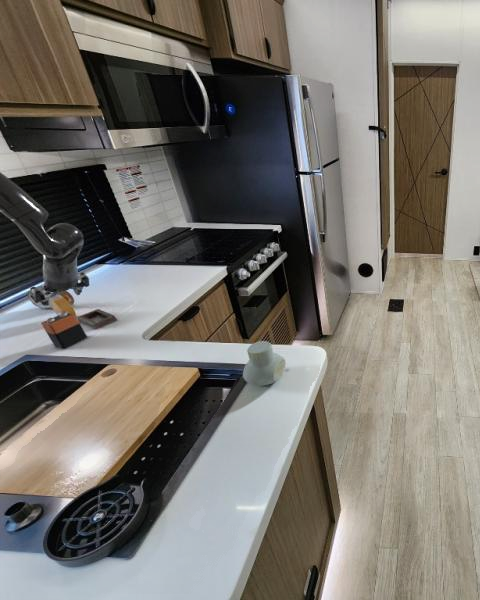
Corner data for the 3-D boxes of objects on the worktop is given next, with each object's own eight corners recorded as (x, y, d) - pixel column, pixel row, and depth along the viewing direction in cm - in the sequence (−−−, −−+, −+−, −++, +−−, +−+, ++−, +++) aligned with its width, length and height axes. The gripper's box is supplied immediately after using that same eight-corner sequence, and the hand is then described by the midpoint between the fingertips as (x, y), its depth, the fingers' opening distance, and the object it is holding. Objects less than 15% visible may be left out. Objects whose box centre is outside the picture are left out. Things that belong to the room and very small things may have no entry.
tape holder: (96, 329, 112) (93, 324, 111) (79, 321, 117) (76, 316, 116) (117, 320, 117) (115, 315, 116) (100, 313, 122) (98, 308, 121)
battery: (88, 337, 108) (73, 311, 103) (64, 349, 102) (47, 322, 97) (79, 335, 109) (64, 309, 104) (54, 347, 103) (38, 320, 98)
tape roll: (68, 323, 116) (57, 303, 112) (57, 318, 119) (46, 298, 116) (79, 319, 119) (69, 300, 115) (68, 314, 122) (58, 295, 118)
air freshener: (262, 363, 94) (254, 334, 89) (289, 365, 93) (283, 335, 89) (242, 390, 84) (232, 359, 80) (273, 392, 84) (264, 361, 79)
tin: (78, 306, 128) (68, 286, 124) (71, 309, 125) (60, 290, 121) (41, 306, 128) (29, 286, 124) (33, 310, 126) (21, 290, 122)
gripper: (80, 256, 108) (79, 281, 118) (21, 271, 97) (25, 298, 107) (95, 273, 108) (93, 298, 118) (38, 290, 97) (41, 316, 107)
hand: (61, 298), depth 112 cm, fingers open, 8 cm apart
